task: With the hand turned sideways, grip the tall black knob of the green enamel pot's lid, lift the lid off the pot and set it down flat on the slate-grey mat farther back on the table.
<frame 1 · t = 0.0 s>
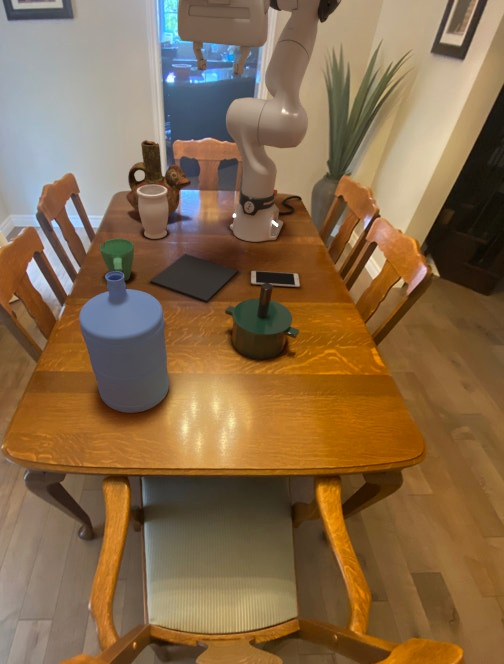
hand: (219, 72, 82), 48 cm above the table, tool pointing down, fingers open, 8 cm apart
pot: (257, 341, 95), on the table
jar: (155, 234, 134), on the table
lid: (261, 317, 89), point 7 cm above the table, touching pot
smartphone: (274, 280, 115), on the table
mug: (122, 282, 113), on the table
sunglasses: (122, 322, 99), on the table
ceramic vessel: (159, 218, 144), on the table
mat: (195, 277, 115), on the table
water jug: (135, 388, 83), on the table
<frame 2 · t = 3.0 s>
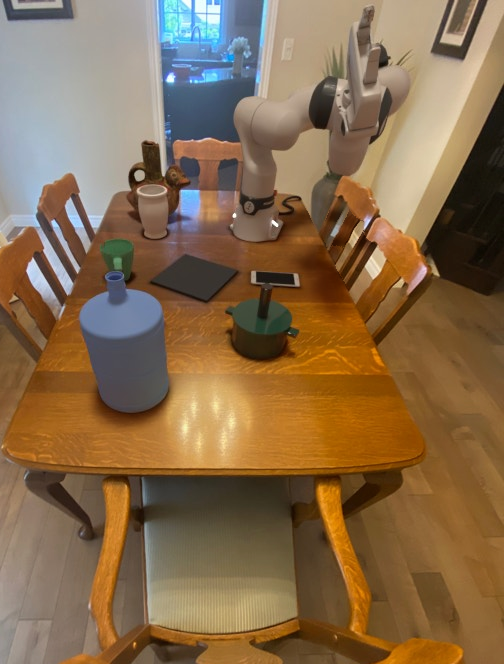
hand: (372, 26, 64), 57 cm above the table, tool pointing upward, fingers open, 8 cm apart
nothing on the table moved.
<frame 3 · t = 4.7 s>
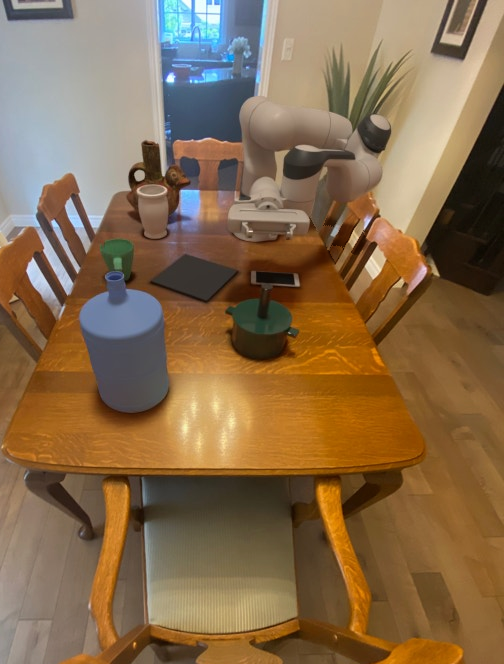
hand: (269, 236, 86), 22 cm above the table, tool horizontal, fingers open, 8 cm apart
nothing on the table moved.
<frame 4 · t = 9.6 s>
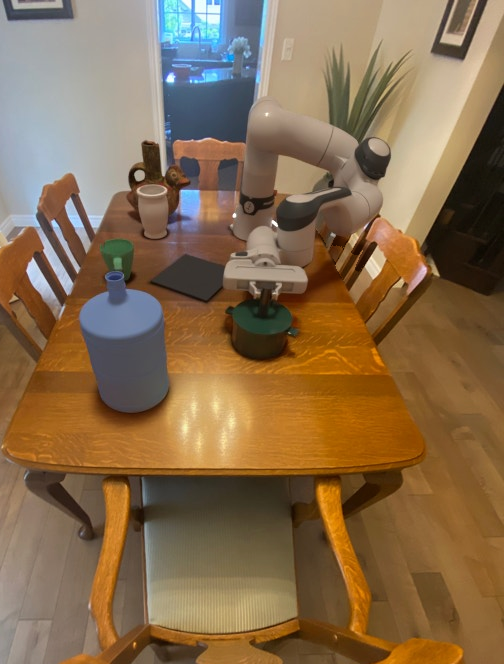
hand: (265, 297, 84), 14 cm above the table, tool horizontal, fingers closed on lid, 2 cm apart
lid: (262, 317, 89), point 8 cm above the table, touching gripper, pot
everything else where it was.
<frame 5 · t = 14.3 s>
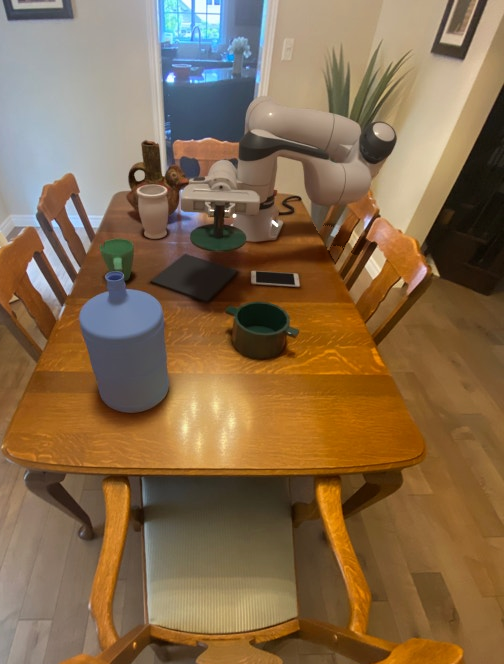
hand: (219, 214, 89), 24 cm above the table, tool horizontal, fingers closed on lid, 2 cm apart
lid: (218, 238, 94), point 18 cm above the table, touching gripper
everything else where it was.
when the fingers open (8 cm above the table, at t = 19.5 s): lid stays where it is, resting on mat.
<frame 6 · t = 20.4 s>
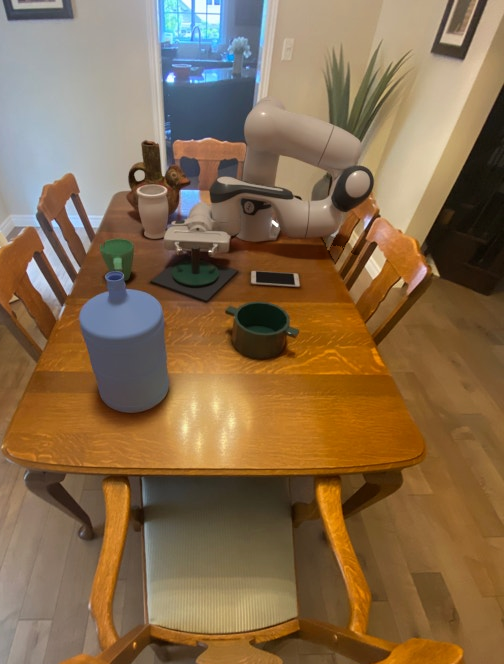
hand: (195, 253, 108), 8 cm above the table, tool horizontal, fingers open, 8 cm apart
lid: (195, 273, 114), point 1 cm above the table, touching mat
everything else where it was.
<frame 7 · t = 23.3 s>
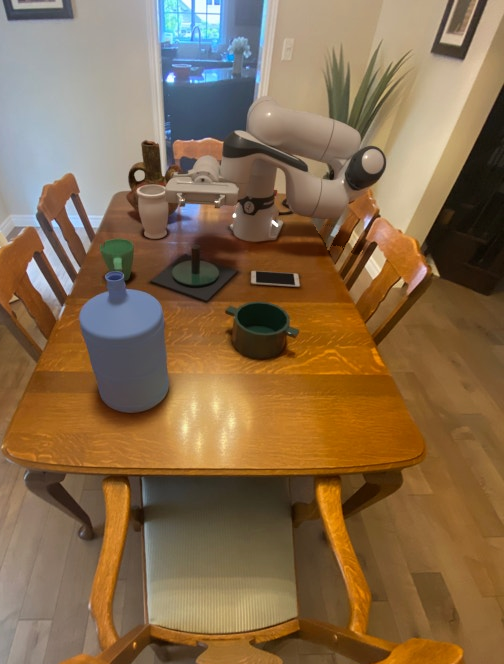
hand: (199, 204, 97), 22 cm above the table, tool horizontal, fingers open, 8 cm apart
nothing on the table moved.
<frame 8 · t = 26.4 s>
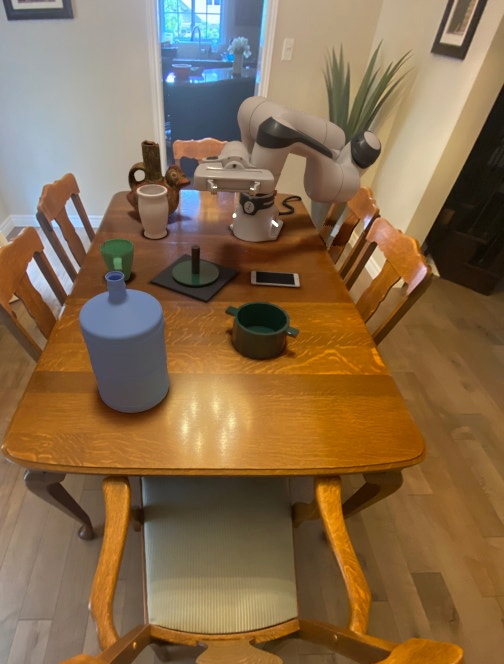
hand: (233, 192, 88), 28 cm above the table, tool horizontal, fingers open, 8 cm apart
nothing on the table moved.
at the end: lid inside the target area on the mat (0.1 cm from its centre), point 1.4 cm above the mat's base; lid tilted 0°; the gripper is holding nothing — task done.
